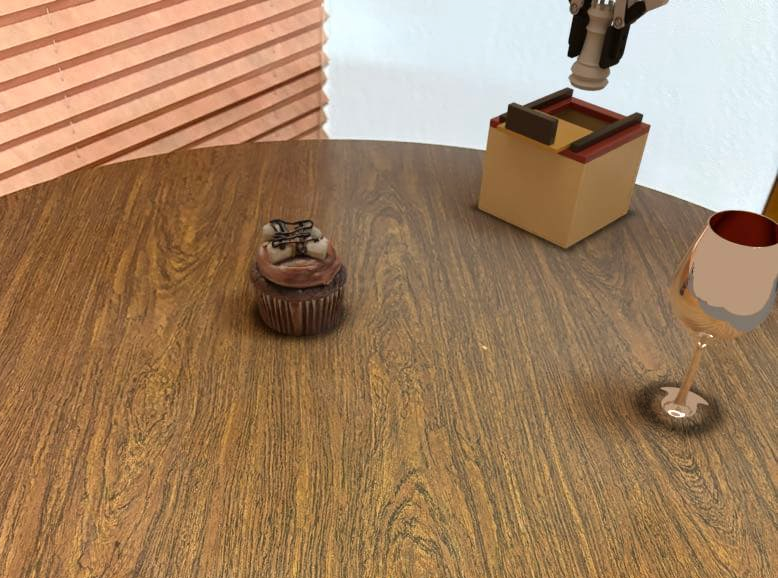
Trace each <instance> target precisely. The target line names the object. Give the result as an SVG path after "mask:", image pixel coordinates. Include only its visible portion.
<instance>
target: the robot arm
mask: <svg viewBox="0 0 778 578" xmlns="http://www.w3.org/2000/svg"><path fill="white" fill-rule="evenodd" d="M567 1H568V4H569V6H568V7H569V8H568V9H569V10H568V11H569V13H570V14H571V15H572V19H571V25H570V29H569V35H568V39H567V44H568V49H567V54H566V56H567V57H568V58H570V59H574V58H576V57H578V56H579V55H580V53H581V51H582V48H583V45H584V42H585V39H586V35H587V29H586V27H587V26H588V25H589V22H590V17H589V15H588V12H587V11H588V9H589V8H590V7H591V6H592V3H593V1H594V0H567ZM669 2H670V0H615V10H614V18H613V22H612V26H610V27H608V28H607V30H606V34H605V38H604V43H603V47H602V52H601V56H600V61H599V66H600V68H602V69H607V68H612V67H614V66H616V65H618V64H619V63H620V61H621V59H622V58H623V56H624V54H625V51H626V46H627V42H628V37H629V33H630V29H631V25H633V24H635V23H637V21H638V20H639V19H640V18H642V17H644V15H646V14H647V13H649V12H651V11H653V10H656V9H658V8H661V7H664V6H666V5H667V4H668V3H669Z"/></svg>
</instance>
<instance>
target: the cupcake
mask: <svg viewBox="0 0 778 578" xmlns="http://www.w3.org/2000/svg"><path fill="white" fill-rule="evenodd" d="M289 225H290V226H294V228H293V229H294V230H289V228H288V226H289ZM297 225H298V226H297ZM314 225H315V223H314V221H313V220H311V219H300V220H296V221H294V222H289V221H285V220H283V219H280V218H275V217H273V218H272V220H270V221H268V223H267V224H265V225H263V227H262V232H261V234H262V235H261V237H262V238H263V241H262V242H261V243H260V245H259V246H258V249H257V252H256V257H254V258H253V260H252V262H251V264H250V267H249V274H248V275H249V282H250V285H251V288H252V291H253V292H254V295H255V298H256V301H257V305H258V309H259V313H260V317H261V319H262V321H264V323H265V324H266V325H267V326H268V327H269V328H270V329H271V330H274V331H275V332H278V333H281V334H283V335H288V336H294V337H303V336H308V337H309V336H315V335H319V334H321V333H324V332H325V331H328V330H330V329H331V328H333V326H334V325H336V323H337V322H338V320H339V317H340V315H341V309H342V305H343V301H344V297H345V293H346V289H347V286H348V280H349V279H348V278H349V275H348V274H349V273H348V268H347V265H346V264H343V262H342V258H341V256H340V253H339V251H338V250H337V249H336V247H335V246H334V244H332V242H331V241H330V240H329V239H328V238H327V237H325V236H324V235H323V234H322V232H321V230H320V229H319V228H317V227H316V226H314Z"/></svg>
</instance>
